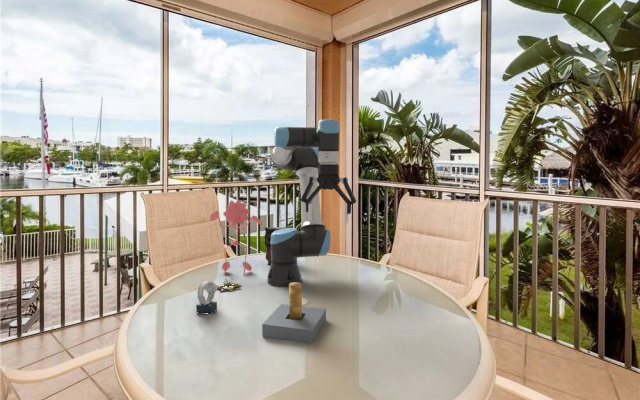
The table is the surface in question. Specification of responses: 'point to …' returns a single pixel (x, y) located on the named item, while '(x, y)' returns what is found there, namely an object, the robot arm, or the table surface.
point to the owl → (268, 240)
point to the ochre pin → (295, 301)
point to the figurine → (235, 215)
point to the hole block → (294, 324)
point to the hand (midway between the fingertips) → (328, 221)
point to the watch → (207, 304)
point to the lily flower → (230, 285)
